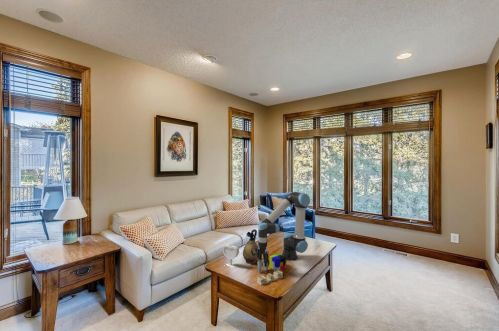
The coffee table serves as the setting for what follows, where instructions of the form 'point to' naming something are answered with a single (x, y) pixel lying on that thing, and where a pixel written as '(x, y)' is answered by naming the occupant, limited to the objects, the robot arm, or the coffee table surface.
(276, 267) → the puzzle toy
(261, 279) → the cream lumpy bar
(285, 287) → the coffee table surface
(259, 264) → the clip
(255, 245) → the ceramic jug
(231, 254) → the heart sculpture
